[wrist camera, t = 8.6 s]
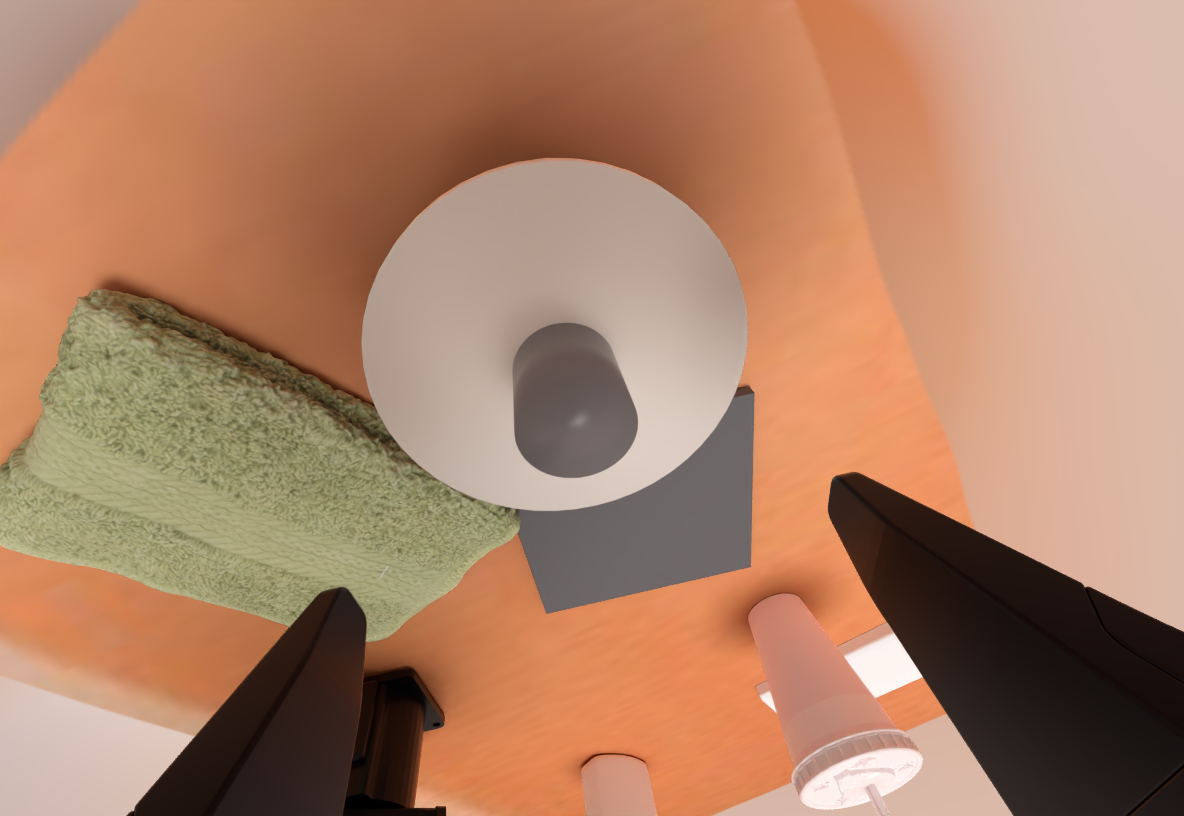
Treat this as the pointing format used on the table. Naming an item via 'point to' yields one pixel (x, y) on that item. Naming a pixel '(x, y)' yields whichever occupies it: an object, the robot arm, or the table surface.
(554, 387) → the lid
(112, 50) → the table surface
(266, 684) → the robot arm
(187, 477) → the washcloth
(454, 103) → the table surface
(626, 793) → the eye dropper bottle
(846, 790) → the smoothie
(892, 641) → the external hard drive
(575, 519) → the mat
